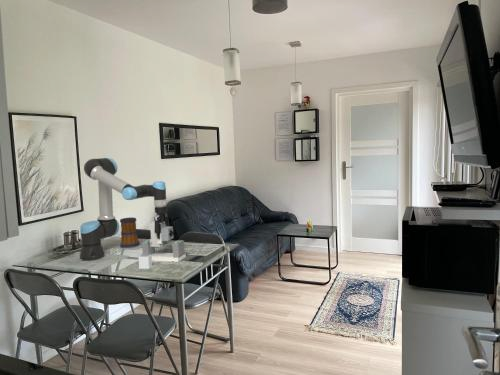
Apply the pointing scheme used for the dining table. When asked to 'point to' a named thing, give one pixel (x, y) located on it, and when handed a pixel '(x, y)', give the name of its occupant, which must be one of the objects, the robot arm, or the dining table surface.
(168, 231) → the circuit breaker
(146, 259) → the block
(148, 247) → the rail plate
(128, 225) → the mug
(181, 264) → the dining table surface
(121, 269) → the dining table surface
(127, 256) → the dining table surface
